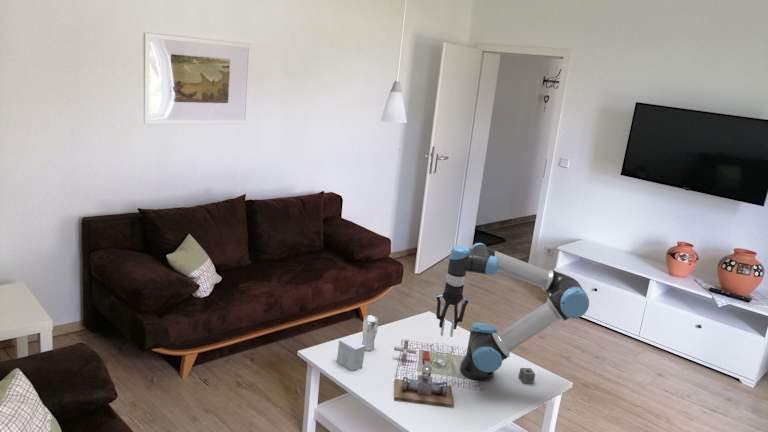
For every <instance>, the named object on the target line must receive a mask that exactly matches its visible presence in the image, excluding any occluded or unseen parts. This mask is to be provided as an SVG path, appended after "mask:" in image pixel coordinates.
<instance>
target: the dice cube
mask: <svg viewBox="0 0 768 432" xmlns="http://www.w3.org/2000/svg"><path fill="white" fill-rule="evenodd" d="M535 377H536V373H535V372H534V370H533V369H532V368H531V367H520V368H519V373H518V379H519V380H520V382H521V383H522V384H523V385H528V384H529V385H533V384H534V381H535Z"/></svg>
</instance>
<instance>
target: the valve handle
mask: <svg viewBox="0 0 768 432" xmlns="http://www.w3.org/2000/svg"><path fill="white" fill-rule="evenodd" d="M421 359H422V362H421V363H422V365H423V367H422V372H421V375H423V376H426V377H429V376H431V377H432V370H433V368H432V367H431V366H430V360H431V359H430V351H428V350H427V351H426V350H422V355H421Z"/></svg>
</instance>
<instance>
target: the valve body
mask: <svg viewBox="0 0 768 432" xmlns="http://www.w3.org/2000/svg"><path fill="white" fill-rule="evenodd" d="M402 380H403V382H402V391H406V390H412V391H417V394H421V395H429V396H431V393H436V394H442V396H446V394H447V385H448V381H447V382H446V381H442V382H435V381H433V376H432V375H431V376H429V377H426V376H423V375H422V374H418V376H417V379H413V378H408V376H403V377H402Z"/></svg>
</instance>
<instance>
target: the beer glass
mask: <svg viewBox="0 0 768 432" xmlns="http://www.w3.org/2000/svg"><path fill="white" fill-rule="evenodd" d="M378 327H379V318H378V317H377V316H374V315H371V314H370V315H365V316H364V318H363V322H362V343H361V344H362V345H364V346H365V351H366V352H372V351H373V350H375V340H376V337H377V333H378V329H379V328H378ZM365 351H364V352H365Z"/></svg>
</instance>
